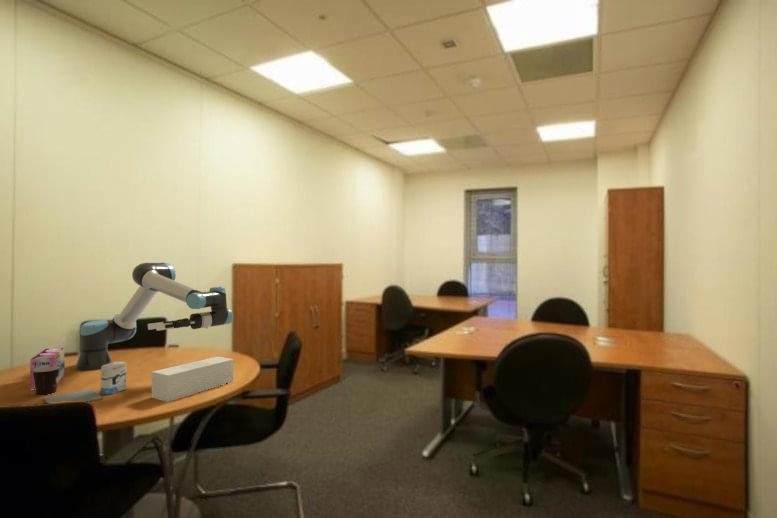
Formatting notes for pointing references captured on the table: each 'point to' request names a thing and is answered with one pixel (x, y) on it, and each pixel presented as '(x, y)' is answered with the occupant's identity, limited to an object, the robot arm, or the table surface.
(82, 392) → the felt pad
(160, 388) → the long white block
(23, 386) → the table surface
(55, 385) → the coffee mug
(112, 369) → the ink box
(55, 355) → the gum box
